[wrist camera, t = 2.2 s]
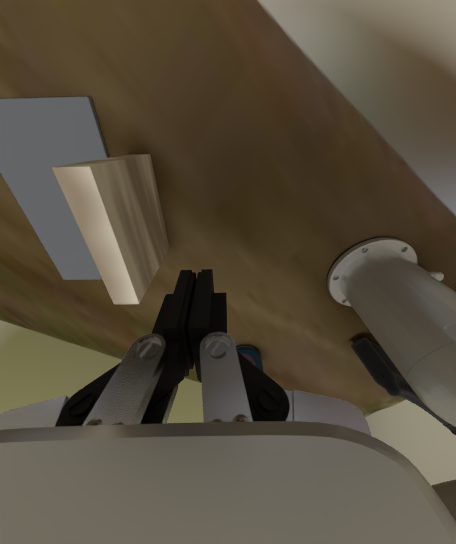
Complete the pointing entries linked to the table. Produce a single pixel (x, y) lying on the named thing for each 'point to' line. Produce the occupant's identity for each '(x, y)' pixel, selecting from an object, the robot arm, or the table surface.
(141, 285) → the birch tile
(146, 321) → the table surface
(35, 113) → the mat
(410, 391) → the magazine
